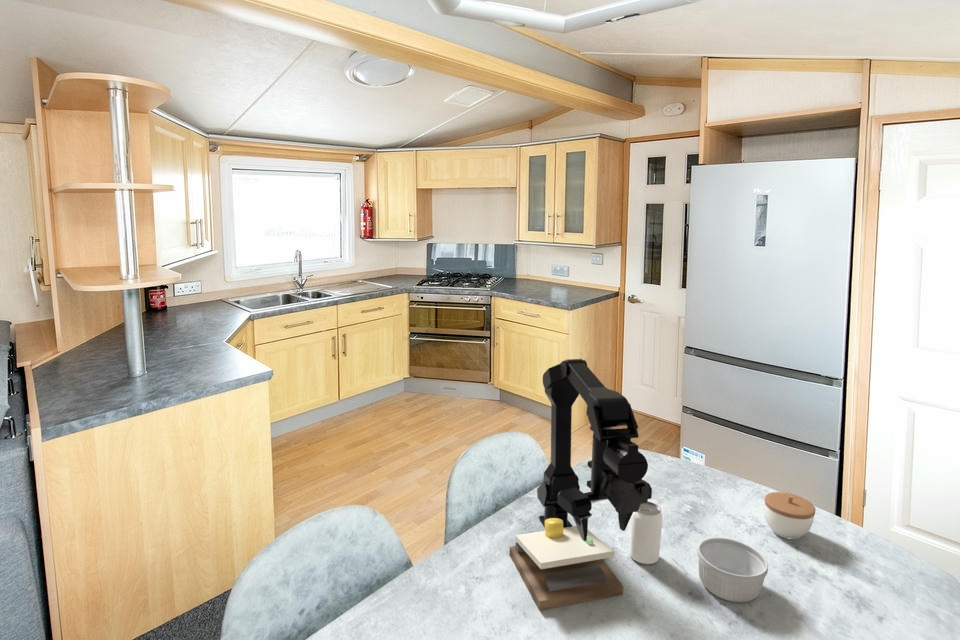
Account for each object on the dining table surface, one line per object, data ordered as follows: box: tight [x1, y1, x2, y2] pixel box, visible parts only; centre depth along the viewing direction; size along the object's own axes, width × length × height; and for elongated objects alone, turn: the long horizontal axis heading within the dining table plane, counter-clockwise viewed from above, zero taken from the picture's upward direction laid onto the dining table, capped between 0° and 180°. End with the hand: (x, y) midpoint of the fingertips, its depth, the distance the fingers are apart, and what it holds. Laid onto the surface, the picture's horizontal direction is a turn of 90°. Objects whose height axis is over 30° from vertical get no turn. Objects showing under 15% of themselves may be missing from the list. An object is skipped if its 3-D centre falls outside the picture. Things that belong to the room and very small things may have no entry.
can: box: [628, 501, 663, 566], centre depth 124 cm, size 6×6×12 cm
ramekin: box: [696, 537, 769, 603], centre depth 115 cm, size 13×13×7 cm
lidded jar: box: [763, 491, 817, 540], centre depth 134 cm, size 11×11×9 cm
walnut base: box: [508, 542, 624, 611], centre depth 118 cm, size 18×18×4 cm
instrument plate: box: [515, 518, 616, 569], centre depth 118 cm, size 15×16×4 cm
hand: (603, 534), depth 110 cm, fingers open, 9 cm apart
